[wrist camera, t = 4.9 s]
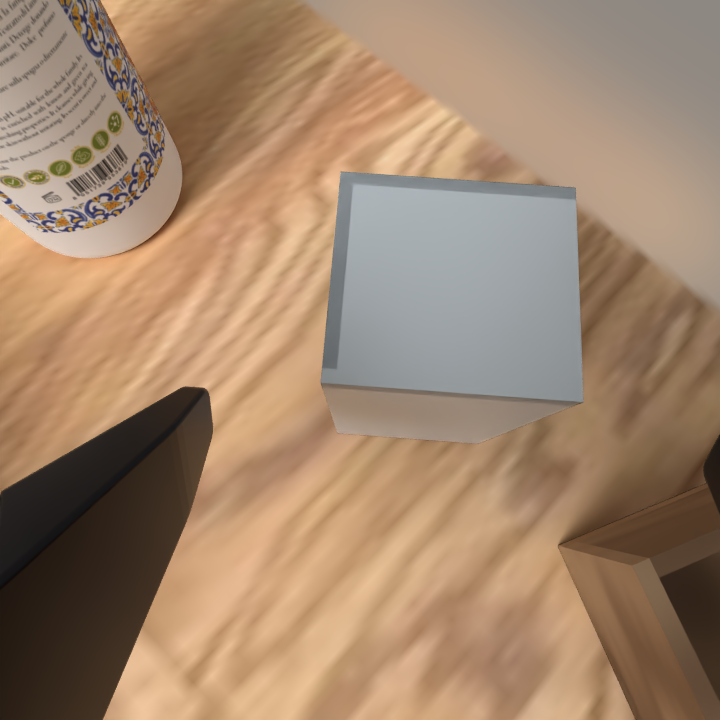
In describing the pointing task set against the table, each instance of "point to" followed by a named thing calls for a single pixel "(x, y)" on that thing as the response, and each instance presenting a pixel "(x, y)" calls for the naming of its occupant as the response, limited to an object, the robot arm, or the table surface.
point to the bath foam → (79, 133)
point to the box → (657, 604)
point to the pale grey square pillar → (451, 307)
